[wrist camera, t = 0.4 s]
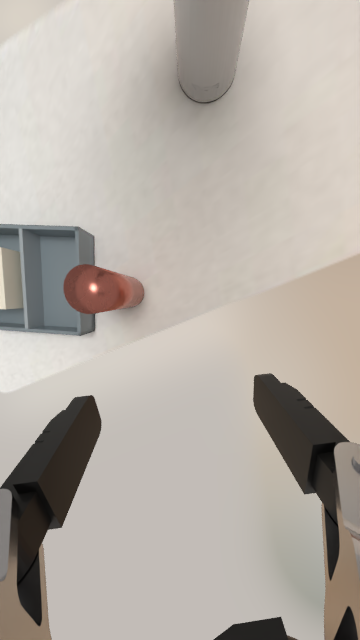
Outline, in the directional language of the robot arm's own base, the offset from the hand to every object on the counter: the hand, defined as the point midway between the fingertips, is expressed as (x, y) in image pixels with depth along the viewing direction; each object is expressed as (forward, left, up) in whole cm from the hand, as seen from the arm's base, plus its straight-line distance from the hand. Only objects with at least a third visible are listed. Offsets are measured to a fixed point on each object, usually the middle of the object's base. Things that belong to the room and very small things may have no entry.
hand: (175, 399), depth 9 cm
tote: (-6, -29, -26) cm, 39 cm away
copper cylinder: (-5, -12, -26) cm, 29 cm away
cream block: (-6, -34, -25) cm, 42 cm away
